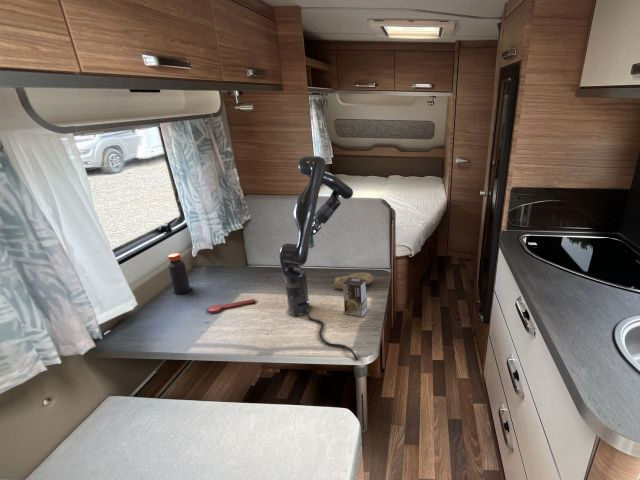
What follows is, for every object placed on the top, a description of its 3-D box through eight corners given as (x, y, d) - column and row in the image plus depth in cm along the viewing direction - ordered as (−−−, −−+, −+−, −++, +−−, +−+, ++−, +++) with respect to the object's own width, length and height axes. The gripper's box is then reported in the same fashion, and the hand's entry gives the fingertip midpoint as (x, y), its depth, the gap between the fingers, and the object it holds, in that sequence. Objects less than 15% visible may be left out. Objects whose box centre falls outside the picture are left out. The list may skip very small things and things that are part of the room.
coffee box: (367, 309, 159) (366, 279, 154) (362, 317, 153) (361, 286, 148) (350, 306, 162) (348, 276, 156) (344, 313, 156) (342, 283, 150)
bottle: (175, 295, 168) (166, 259, 161) (173, 290, 172) (164, 254, 166) (191, 291, 172) (183, 255, 165) (189, 285, 177) (181, 251, 170)
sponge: (335, 294, 173) (372, 287, 173) (331, 280, 172) (369, 273, 172) (340, 286, 186) (375, 279, 186) (337, 273, 185) (372, 266, 185)
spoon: (254, 304, 161) (254, 302, 161) (207, 314, 153) (207, 312, 153) (254, 298, 166) (253, 296, 166) (208, 307, 158) (208, 305, 158)
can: (315, 247, 185) (313, 230, 182) (305, 249, 183) (303, 232, 180) (313, 244, 190) (311, 227, 187) (303, 245, 188) (301, 229, 184)
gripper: (316, 206, 189) (296, 229, 187) (322, 212, 177) (301, 237, 175) (326, 213, 193) (307, 236, 192) (333, 220, 181) (312, 245, 180)
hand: (304, 236), depth 184 cm, fingers closed on can, 5 cm apart
